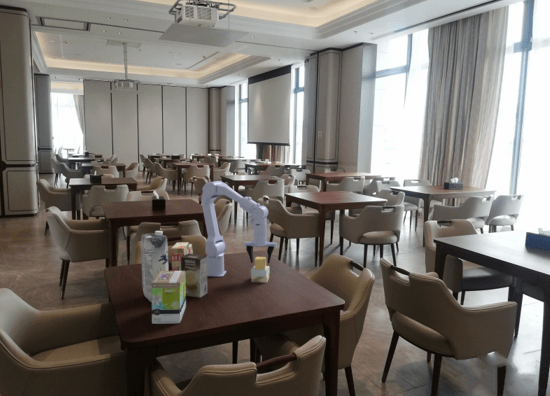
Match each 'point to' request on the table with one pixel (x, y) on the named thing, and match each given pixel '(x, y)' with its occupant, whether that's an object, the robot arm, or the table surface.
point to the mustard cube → (260, 262)
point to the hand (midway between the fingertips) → (260, 262)
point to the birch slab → (260, 279)
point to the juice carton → (153, 259)
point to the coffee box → (195, 274)
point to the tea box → (168, 297)
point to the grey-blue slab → (260, 272)
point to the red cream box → (179, 254)
